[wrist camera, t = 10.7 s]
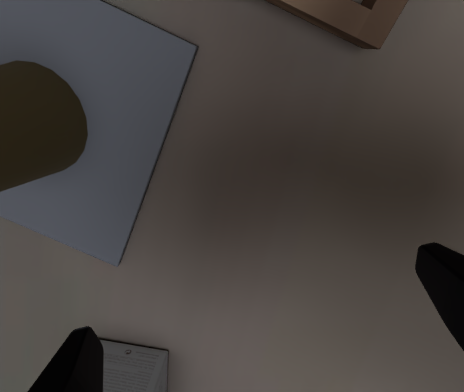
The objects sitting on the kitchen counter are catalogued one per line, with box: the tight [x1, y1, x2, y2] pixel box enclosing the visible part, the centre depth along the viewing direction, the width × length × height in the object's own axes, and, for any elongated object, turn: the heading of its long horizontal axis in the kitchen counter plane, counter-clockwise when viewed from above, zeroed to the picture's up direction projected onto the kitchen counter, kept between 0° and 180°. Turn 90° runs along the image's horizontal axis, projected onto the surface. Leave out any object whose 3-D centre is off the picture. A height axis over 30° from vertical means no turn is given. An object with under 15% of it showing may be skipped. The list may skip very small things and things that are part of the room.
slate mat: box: [0, 0, 198, 267], centre depth 19 cm, size 14×14×1 cm
